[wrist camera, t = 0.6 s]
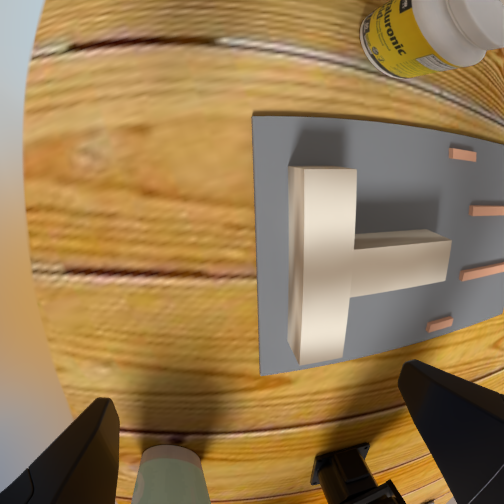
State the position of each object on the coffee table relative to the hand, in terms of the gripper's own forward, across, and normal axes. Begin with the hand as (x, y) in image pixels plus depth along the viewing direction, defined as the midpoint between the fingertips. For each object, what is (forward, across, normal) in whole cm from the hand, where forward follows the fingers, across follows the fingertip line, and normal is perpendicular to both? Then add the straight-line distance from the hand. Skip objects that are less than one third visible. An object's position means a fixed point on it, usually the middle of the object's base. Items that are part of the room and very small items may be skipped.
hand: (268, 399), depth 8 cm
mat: (+12, -16, 0) cm, 20 cm away
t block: (+12, -9, 0) cm, 15 cm away
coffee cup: (+12, +7, +21) cm, 25 cm away
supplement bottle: (+13, -12, -15) cm, 23 cm away
